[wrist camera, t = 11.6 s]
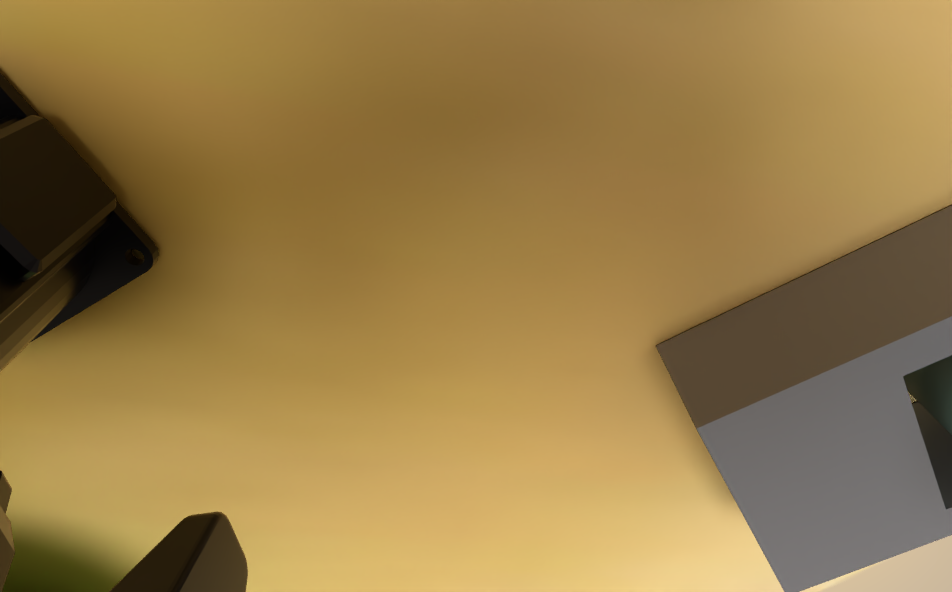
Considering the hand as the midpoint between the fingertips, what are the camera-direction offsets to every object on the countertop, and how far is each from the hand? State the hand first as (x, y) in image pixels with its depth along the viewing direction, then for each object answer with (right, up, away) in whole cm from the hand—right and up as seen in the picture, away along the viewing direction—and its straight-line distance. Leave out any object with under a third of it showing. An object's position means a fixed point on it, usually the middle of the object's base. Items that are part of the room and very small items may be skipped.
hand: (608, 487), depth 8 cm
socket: (+11, 0, +14) cm, 18 cm away
